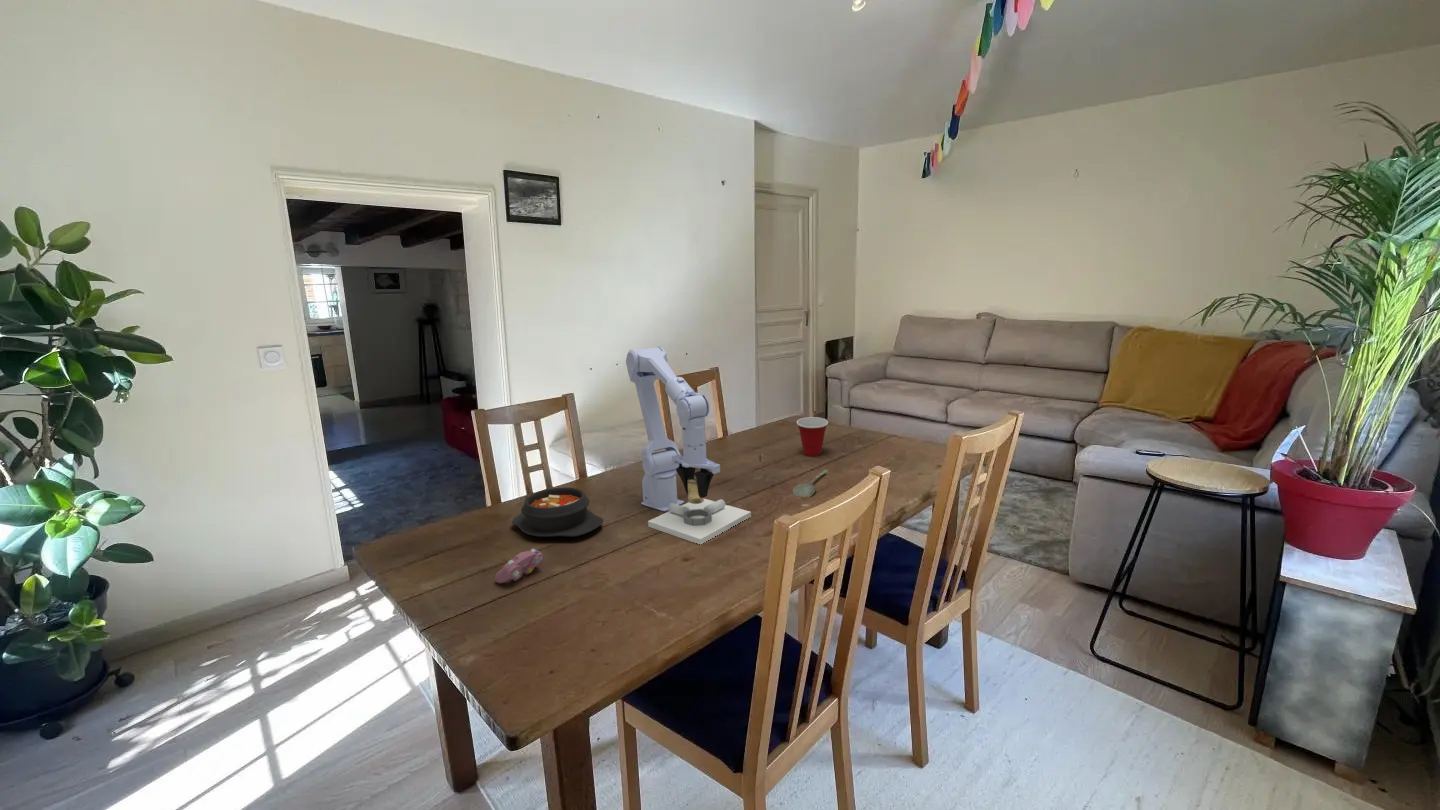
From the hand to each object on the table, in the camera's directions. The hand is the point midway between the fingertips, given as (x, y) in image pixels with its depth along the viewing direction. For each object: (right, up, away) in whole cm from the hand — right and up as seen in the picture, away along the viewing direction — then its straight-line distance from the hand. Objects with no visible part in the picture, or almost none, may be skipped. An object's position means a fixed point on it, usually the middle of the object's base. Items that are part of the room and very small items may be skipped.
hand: (696, 494), depth 150 cm
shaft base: (+1, -8, +4) cm, 9 cm away
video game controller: (-37, -15, -21) cm, 45 cm away
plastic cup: (+38, +5, +57) cm, 69 cm away
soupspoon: (+34, -2, +28) cm, 44 cm away
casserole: (-36, -9, +4) cm, 37 cm away
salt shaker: (0, -2, 0) cm, 2 cm away
